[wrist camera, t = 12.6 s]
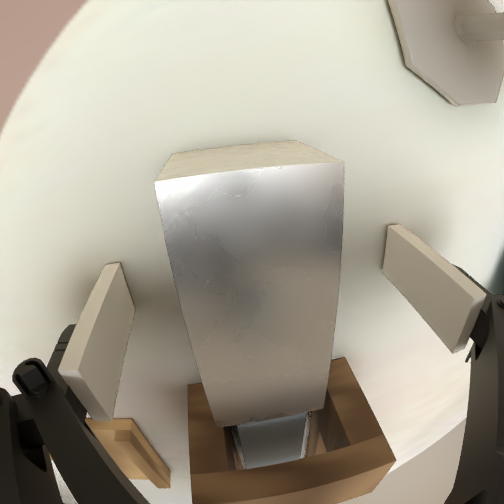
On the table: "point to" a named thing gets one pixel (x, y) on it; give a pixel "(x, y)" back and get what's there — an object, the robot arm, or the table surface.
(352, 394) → the brown wooden forked piece
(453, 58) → the wineglass
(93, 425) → the tan tray
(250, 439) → the block
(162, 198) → the block
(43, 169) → the table surface
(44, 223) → the table surface
